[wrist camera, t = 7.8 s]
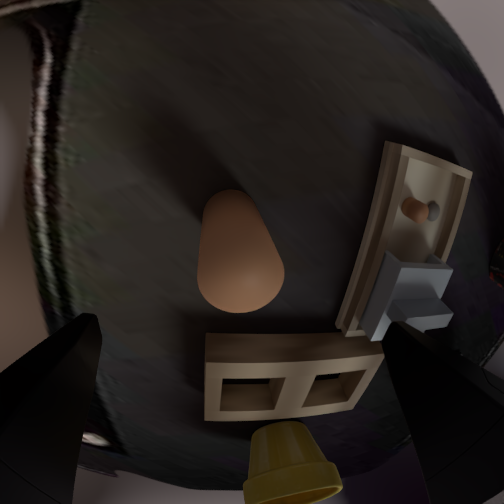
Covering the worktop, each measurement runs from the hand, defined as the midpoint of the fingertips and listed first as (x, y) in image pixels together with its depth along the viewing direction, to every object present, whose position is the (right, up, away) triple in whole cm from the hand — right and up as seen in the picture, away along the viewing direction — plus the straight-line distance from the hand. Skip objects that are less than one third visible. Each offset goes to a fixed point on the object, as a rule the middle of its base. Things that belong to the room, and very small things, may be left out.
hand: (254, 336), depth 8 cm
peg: (-1, +4, +9) cm, 10 cm away
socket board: (+3, -8, +15) cm, 17 cm away
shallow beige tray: (+11, +3, +12) cm, 16 cm away
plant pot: (+3, -19, +22) cm, 29 cm away
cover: (+11, 0, +12) cm, 16 cm away
